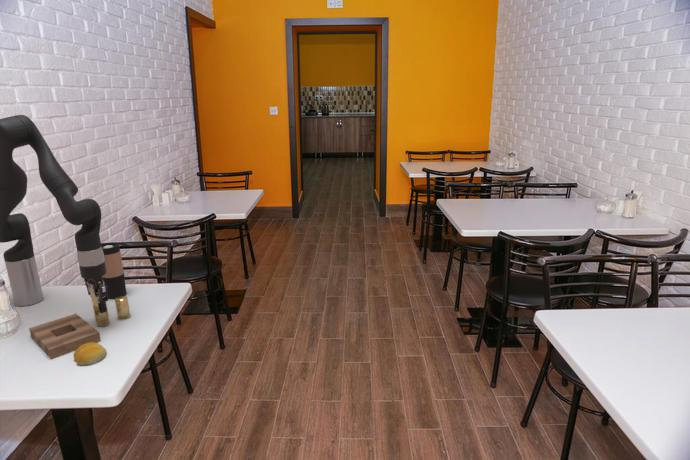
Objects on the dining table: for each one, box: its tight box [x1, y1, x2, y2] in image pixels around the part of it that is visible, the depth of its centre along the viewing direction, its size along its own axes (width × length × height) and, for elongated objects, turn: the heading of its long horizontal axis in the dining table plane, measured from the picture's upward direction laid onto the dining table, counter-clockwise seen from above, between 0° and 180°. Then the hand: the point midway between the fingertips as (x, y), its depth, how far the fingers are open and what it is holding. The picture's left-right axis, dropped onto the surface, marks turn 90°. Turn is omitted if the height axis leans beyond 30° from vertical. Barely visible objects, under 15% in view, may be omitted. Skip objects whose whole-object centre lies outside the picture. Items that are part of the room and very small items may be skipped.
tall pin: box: [89, 286, 111, 328], centre depth 163 cm, size 4×4×14 cm
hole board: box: [28, 313, 101, 360], centre depth 155 cm, size 20×14×3 cm
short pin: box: [114, 295, 131, 321], centre depth 168 cm, size 4×4×7 cm
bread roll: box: [73, 342, 107, 366], centre depth 144 cm, size 8×9×4 cm
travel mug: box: [101, 242, 127, 300], centre depth 185 cm, size 8×8×20 cm
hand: (100, 309), depth 163 cm, fingers open, 4 cm apart
